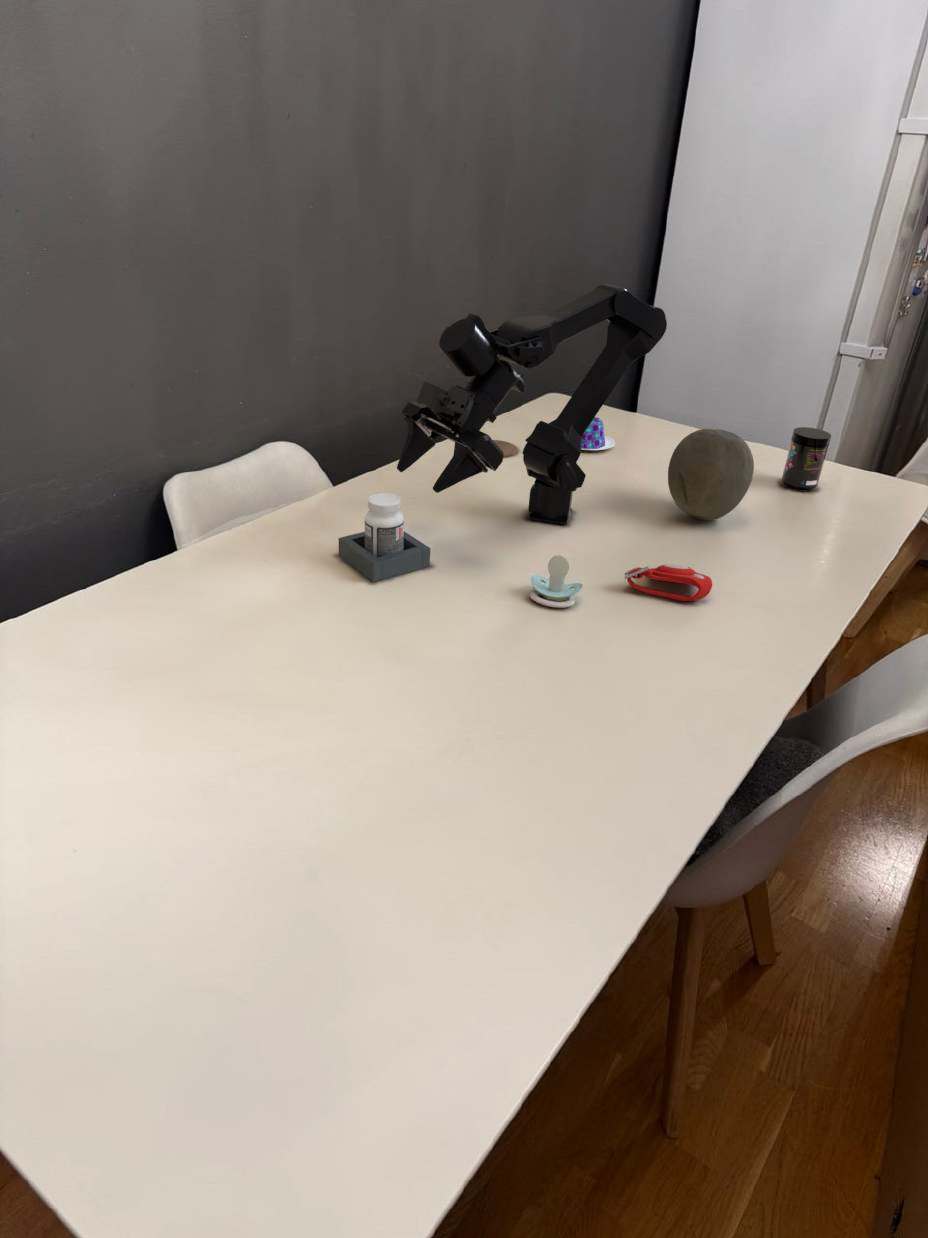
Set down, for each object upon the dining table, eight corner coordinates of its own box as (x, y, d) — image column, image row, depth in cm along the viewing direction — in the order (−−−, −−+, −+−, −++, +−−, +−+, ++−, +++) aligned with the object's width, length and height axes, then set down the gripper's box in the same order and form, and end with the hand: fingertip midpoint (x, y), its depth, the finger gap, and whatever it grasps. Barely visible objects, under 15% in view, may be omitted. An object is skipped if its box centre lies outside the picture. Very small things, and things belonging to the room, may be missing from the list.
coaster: (520, 445, 180) (520, 443, 180) (512, 459, 172) (512, 457, 172) (477, 439, 182) (478, 437, 181) (467, 453, 174) (467, 451, 174)
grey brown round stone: (752, 534, 148) (773, 448, 140) (668, 529, 147) (684, 443, 140) (731, 501, 160) (749, 420, 152) (653, 497, 159) (668, 416, 152)
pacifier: (573, 615, 121) (583, 594, 126) (578, 575, 117) (588, 555, 122) (522, 603, 123) (534, 584, 128) (525, 564, 119) (538, 545, 124)
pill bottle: (409, 557, 133) (410, 495, 128) (394, 572, 128) (395, 509, 123) (374, 549, 134) (374, 488, 129) (358, 565, 130) (357, 502, 125)
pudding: (554, 449, 179) (557, 424, 176) (558, 431, 189) (561, 407, 186) (614, 456, 177) (617, 431, 175) (615, 437, 188) (618, 413, 185)
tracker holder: (670, 560, 134) (726, 570, 127) (666, 588, 135) (722, 600, 128) (617, 561, 127) (674, 572, 119) (614, 591, 128) (670, 604, 120)
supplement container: (798, 477, 173) (812, 425, 168) (824, 489, 168) (839, 436, 162) (772, 481, 170) (785, 428, 165) (798, 494, 165) (812, 440, 160)
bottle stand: (393, 541, 137) (393, 524, 136) (429, 566, 131) (430, 548, 129) (338, 556, 132) (338, 537, 130) (373, 582, 125) (373, 563, 124)
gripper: (414, 345, 129) (349, 429, 129) (493, 377, 117) (422, 470, 116) (454, 392, 137) (393, 471, 137) (532, 426, 125) (466, 513, 124)
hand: (416, 480), depth 128 cm, fingers open, 9 cm apart
